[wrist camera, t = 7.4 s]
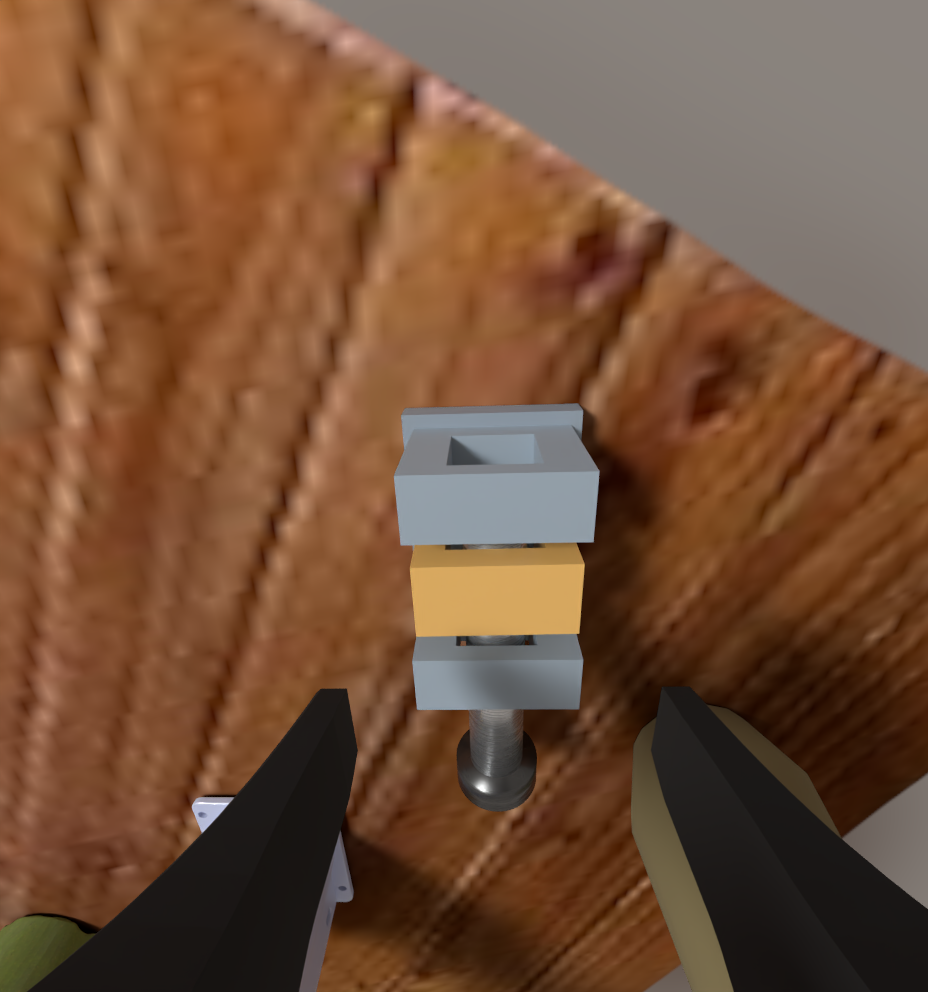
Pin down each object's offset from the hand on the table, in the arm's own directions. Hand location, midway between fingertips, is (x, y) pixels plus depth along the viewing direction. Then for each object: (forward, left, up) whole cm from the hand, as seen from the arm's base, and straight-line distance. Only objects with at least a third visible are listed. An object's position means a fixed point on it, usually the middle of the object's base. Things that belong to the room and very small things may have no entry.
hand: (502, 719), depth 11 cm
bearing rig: (0, 0, -10) cm, 10 cm away
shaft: (-4, 0, -8) cm, 9 cm away
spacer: (0, 0, -8) cm, 8 cm away
